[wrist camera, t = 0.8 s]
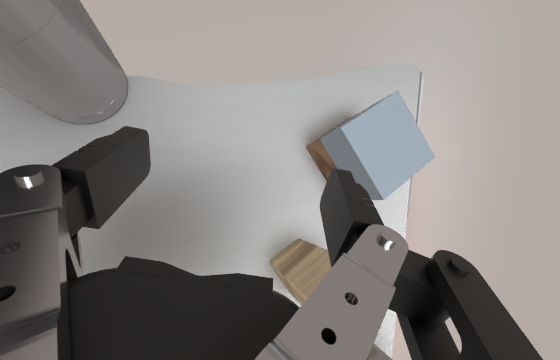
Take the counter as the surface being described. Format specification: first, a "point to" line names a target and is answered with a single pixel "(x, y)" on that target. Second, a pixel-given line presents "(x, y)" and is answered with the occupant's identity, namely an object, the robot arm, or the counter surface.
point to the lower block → (322, 156)
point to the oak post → (301, 268)
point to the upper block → (380, 147)
